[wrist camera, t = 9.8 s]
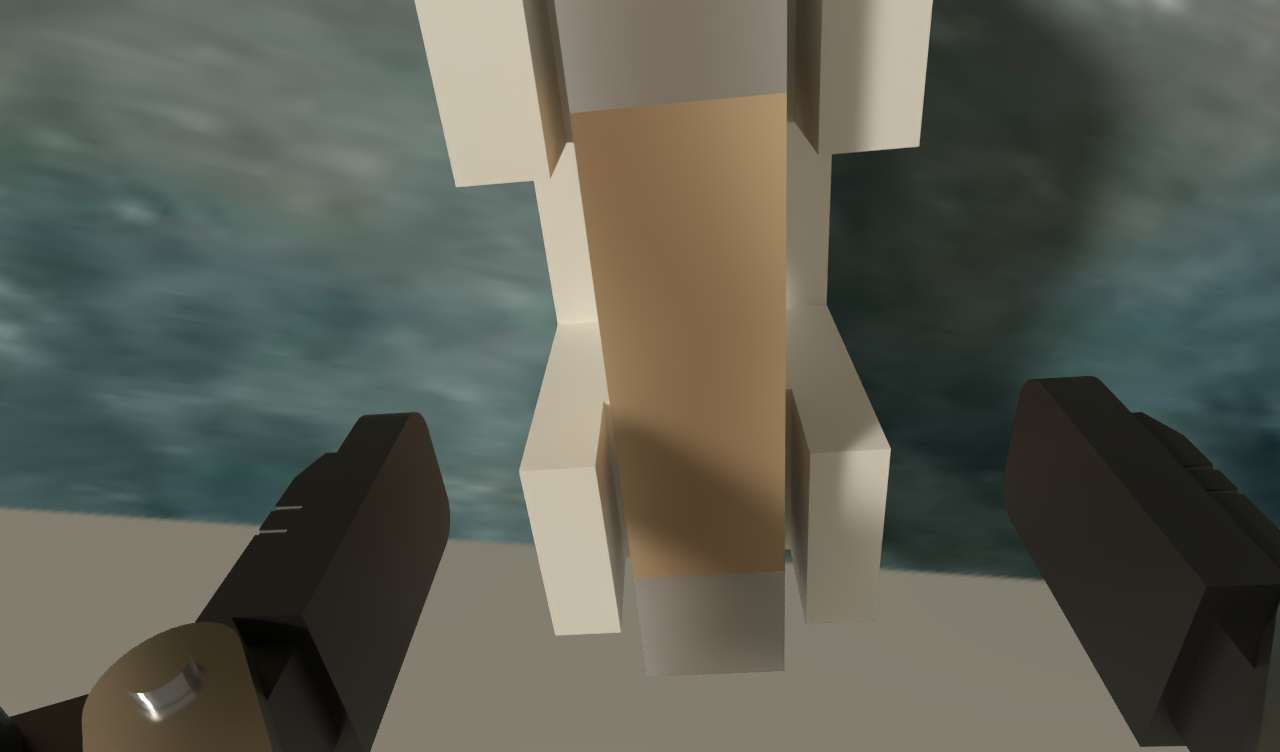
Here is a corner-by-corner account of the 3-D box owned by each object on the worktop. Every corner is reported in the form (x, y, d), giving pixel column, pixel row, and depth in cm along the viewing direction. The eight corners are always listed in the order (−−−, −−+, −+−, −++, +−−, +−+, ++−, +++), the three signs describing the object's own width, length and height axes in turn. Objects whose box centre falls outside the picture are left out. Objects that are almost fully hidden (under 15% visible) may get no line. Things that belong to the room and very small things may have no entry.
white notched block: (832, -175, 16) (957, -253, 9) (814, 427, 24) (874, 621, 18) (491, -134, 17) (374, -182, 10) (584, 441, 25) (555, 635, 18)
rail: (751, -146, 12) (787, -178, 9) (762, 541, 20) (784, 670, 16) (569, -125, 12) (534, -148, 9) (649, 548, 20) (647, 676, 16)
